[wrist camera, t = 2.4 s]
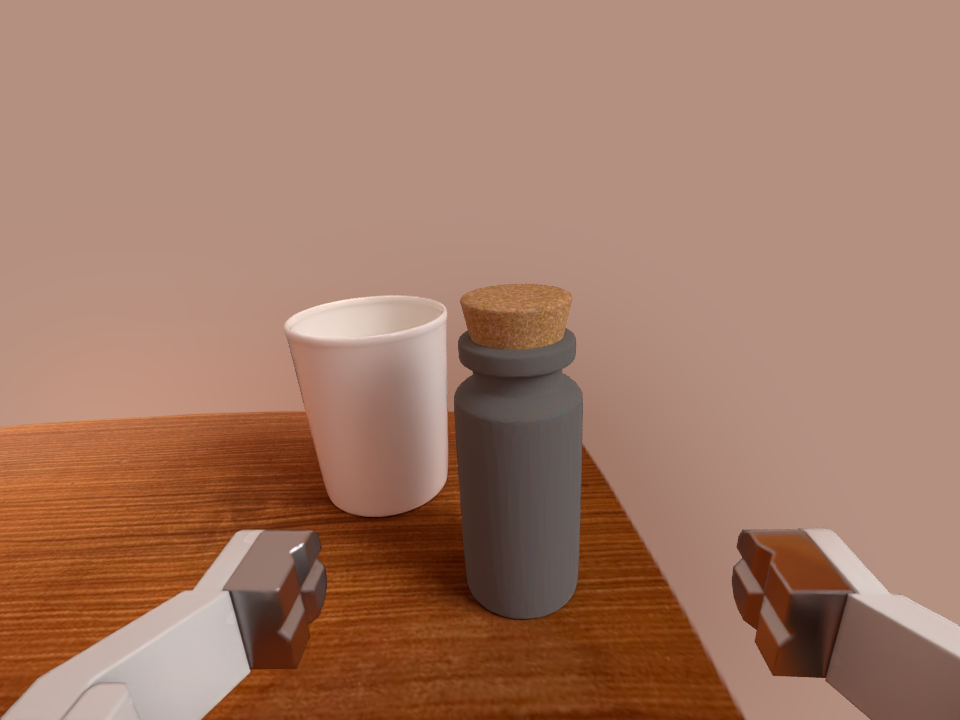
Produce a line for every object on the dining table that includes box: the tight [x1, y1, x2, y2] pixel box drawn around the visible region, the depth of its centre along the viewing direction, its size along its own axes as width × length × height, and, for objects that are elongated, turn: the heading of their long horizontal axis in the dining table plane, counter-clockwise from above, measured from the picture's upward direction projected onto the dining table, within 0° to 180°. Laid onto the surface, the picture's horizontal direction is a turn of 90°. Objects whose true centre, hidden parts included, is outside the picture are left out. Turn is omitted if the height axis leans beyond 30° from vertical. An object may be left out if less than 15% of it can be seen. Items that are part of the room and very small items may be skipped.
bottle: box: [454, 284, 583, 619], centre depth 24 cm, size 6×6×15 cm
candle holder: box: [284, 296, 448, 517], centre depth 34 cm, size 10×10×12 cm
